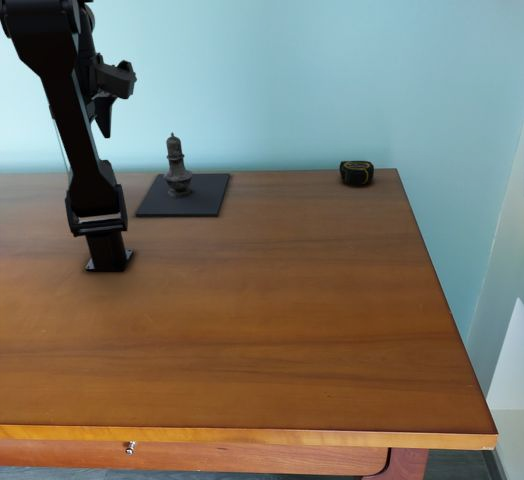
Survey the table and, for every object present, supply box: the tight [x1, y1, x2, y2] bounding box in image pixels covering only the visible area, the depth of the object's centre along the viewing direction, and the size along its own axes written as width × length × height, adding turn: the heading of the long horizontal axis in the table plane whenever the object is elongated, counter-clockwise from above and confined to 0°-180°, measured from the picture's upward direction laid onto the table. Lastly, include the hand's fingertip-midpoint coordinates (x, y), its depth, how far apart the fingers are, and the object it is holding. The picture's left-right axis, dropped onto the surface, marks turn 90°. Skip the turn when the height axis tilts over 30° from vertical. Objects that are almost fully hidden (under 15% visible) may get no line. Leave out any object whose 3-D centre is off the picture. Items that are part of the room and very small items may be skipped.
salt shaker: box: [164, 131, 194, 197], centre depth 105 cm, size 6×6×12 cm
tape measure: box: [338, 160, 375, 186], centre depth 110 cm, size 7×7×4 cm
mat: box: [135, 172, 231, 218], centre depth 109 cm, size 20×16×1 cm
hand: (99, 146), depth 95 cm, fingers open, 9 cm apart
